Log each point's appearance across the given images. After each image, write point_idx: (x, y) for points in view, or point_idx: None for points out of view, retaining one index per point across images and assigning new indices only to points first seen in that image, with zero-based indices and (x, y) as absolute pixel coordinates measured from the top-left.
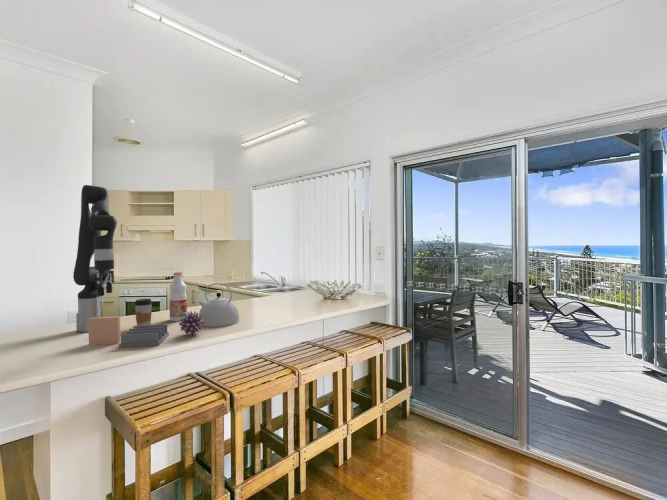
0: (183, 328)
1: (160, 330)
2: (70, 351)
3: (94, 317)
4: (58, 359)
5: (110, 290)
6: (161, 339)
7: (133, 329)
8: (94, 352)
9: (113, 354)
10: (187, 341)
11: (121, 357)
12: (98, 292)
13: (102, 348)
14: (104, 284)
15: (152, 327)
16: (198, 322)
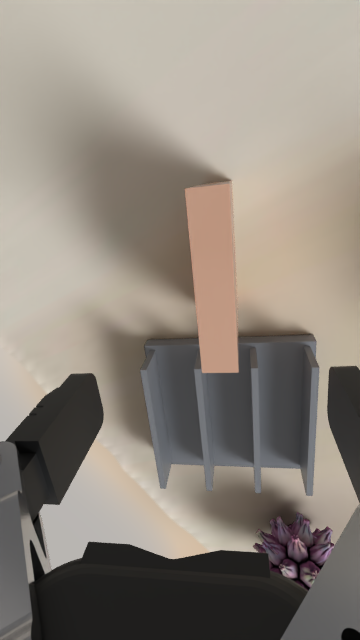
0: (278, 533)
1: (206, 487)
2: (108, 153)
3: (225, 213)
4: (9, 174)
5: (338, 432)
6: (197, 464)
7: (251, 382)
8: (94, 272)
9: (72, 350)
10: (202, 519)
11: (45, 385)
12: (36, 408)
13: (144, 277)
14: (45, 553)
15: (305, 437)
16: None
